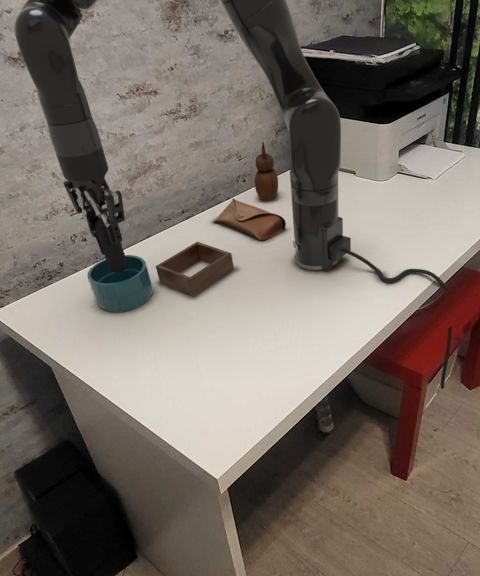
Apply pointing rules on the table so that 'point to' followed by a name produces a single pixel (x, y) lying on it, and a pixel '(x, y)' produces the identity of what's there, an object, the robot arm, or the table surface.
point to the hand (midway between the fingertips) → (107, 238)
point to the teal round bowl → (121, 285)
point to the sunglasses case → (251, 220)
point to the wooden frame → (200, 280)
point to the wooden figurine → (265, 176)
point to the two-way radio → (108, 246)
